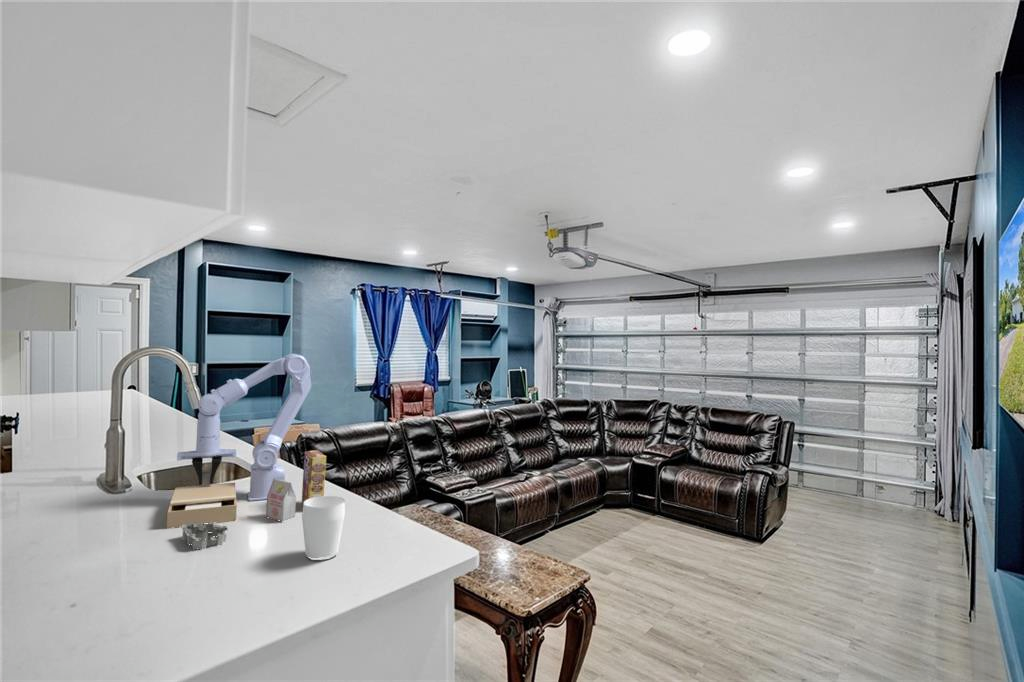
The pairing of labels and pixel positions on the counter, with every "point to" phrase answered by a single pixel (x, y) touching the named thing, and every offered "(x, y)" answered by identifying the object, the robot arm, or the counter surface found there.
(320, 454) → the candy box
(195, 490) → the sliding lid
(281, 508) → the milk carton
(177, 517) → the carton
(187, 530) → the egg carton
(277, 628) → the counter surface
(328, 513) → the cup
